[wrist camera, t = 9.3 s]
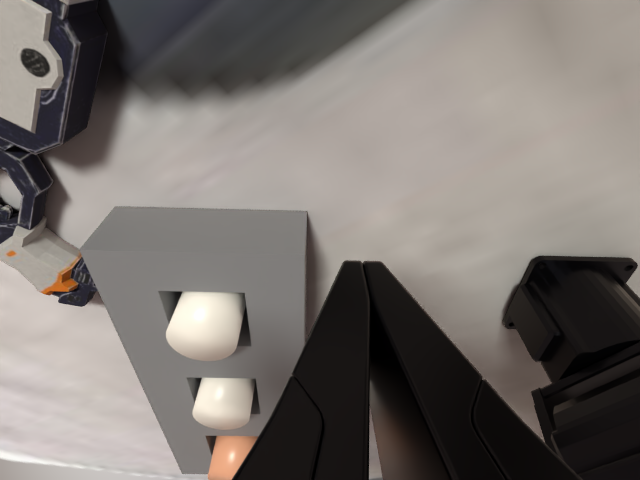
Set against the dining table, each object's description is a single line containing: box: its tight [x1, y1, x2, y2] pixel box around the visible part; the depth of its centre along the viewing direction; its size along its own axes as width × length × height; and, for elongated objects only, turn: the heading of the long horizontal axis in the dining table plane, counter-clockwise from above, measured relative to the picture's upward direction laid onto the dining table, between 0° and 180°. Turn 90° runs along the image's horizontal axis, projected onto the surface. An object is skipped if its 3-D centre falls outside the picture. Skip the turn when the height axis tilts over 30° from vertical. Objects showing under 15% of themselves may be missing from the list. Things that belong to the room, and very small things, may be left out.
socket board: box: [79, 207, 307, 474], centre depth 28 cm, size 11×26×4 cm, turn 178°
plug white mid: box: [192, 378, 256, 430], centre depth 27 cm, size 4×4×5 cm
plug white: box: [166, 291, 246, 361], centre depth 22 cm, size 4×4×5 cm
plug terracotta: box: [208, 436, 258, 480], centre depth 31 cm, size 4×4×5 cm
